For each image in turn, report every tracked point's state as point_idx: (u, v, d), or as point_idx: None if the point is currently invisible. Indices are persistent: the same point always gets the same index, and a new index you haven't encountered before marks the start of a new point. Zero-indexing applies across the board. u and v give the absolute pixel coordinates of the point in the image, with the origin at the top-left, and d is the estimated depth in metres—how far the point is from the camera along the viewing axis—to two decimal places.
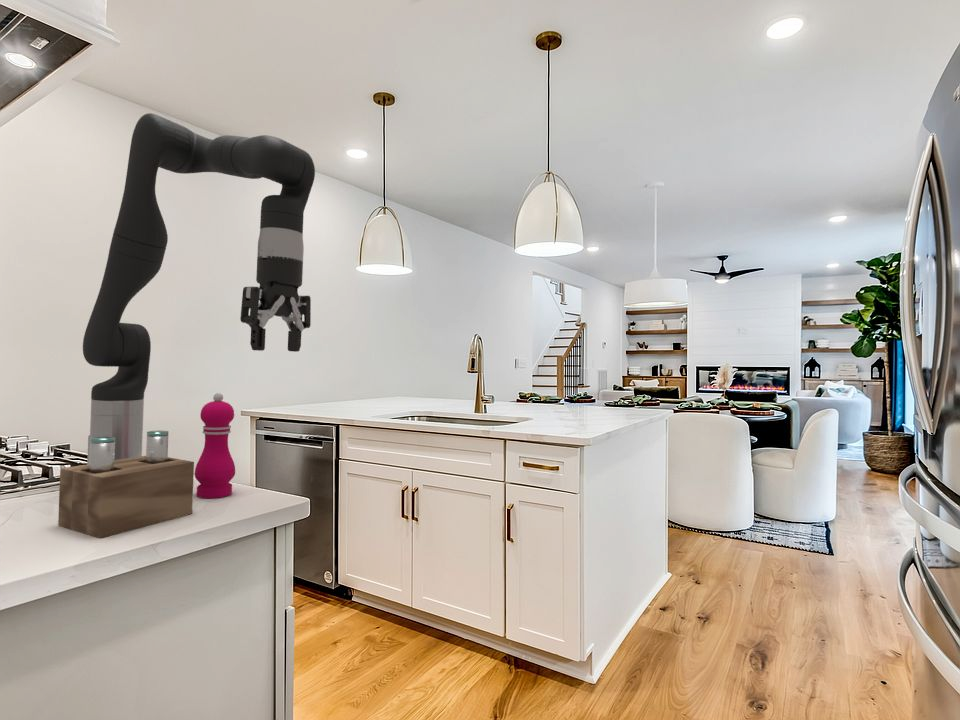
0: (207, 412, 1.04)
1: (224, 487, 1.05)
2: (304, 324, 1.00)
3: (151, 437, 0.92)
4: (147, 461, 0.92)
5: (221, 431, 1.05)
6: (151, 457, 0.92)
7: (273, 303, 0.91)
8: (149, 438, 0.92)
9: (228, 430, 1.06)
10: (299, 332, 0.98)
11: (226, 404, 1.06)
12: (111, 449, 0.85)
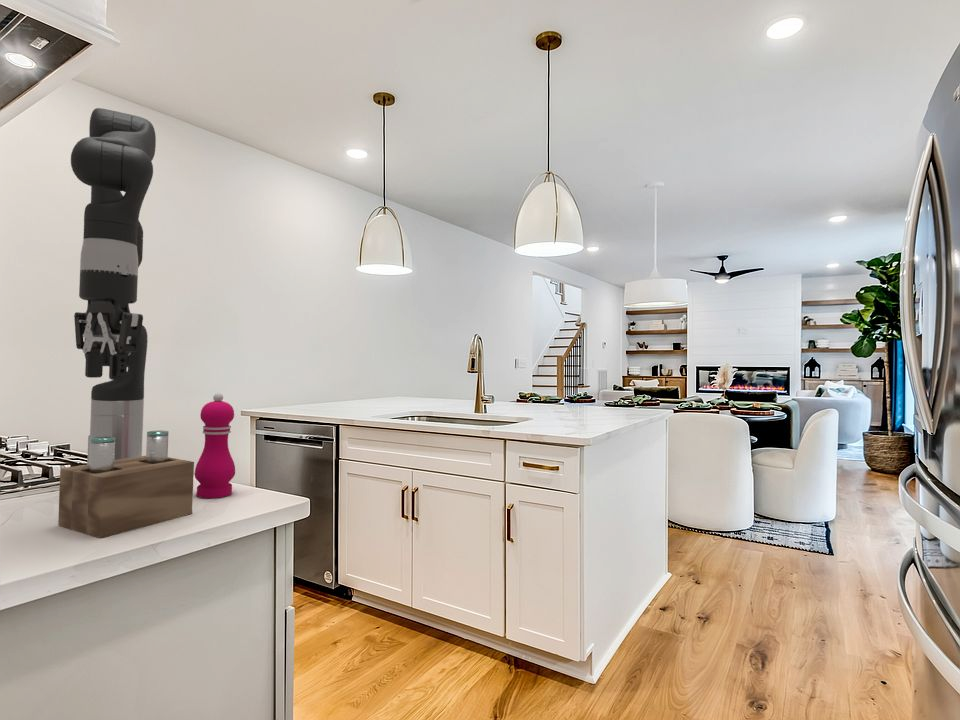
0: (207, 412, 1.04)
1: (224, 487, 1.05)
2: None
3: (151, 437, 0.92)
4: (147, 461, 0.92)
5: (221, 431, 1.05)
6: (151, 457, 0.92)
7: None
8: (149, 438, 0.92)
9: (228, 430, 1.06)
10: None
11: (226, 404, 1.06)
12: (111, 449, 0.85)
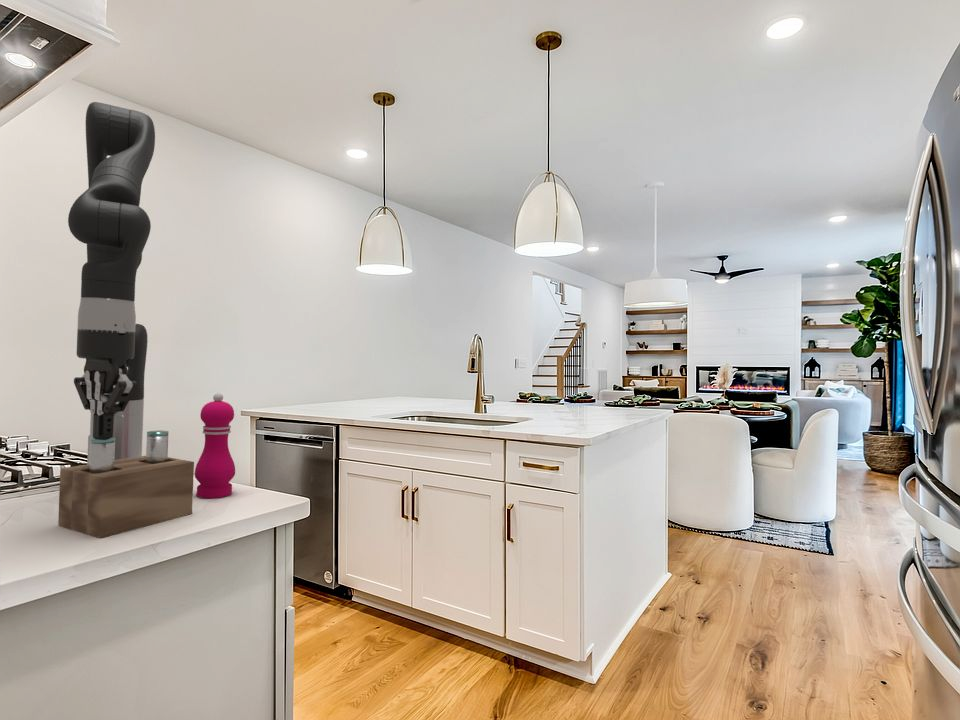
0: (207, 412, 1.04)
1: (224, 487, 1.05)
2: None
3: (151, 437, 0.92)
4: (147, 461, 0.92)
5: (221, 431, 1.05)
6: (151, 457, 0.92)
7: None
8: (149, 438, 0.92)
9: (228, 430, 1.06)
10: None
11: (226, 404, 1.06)
12: (111, 449, 0.85)
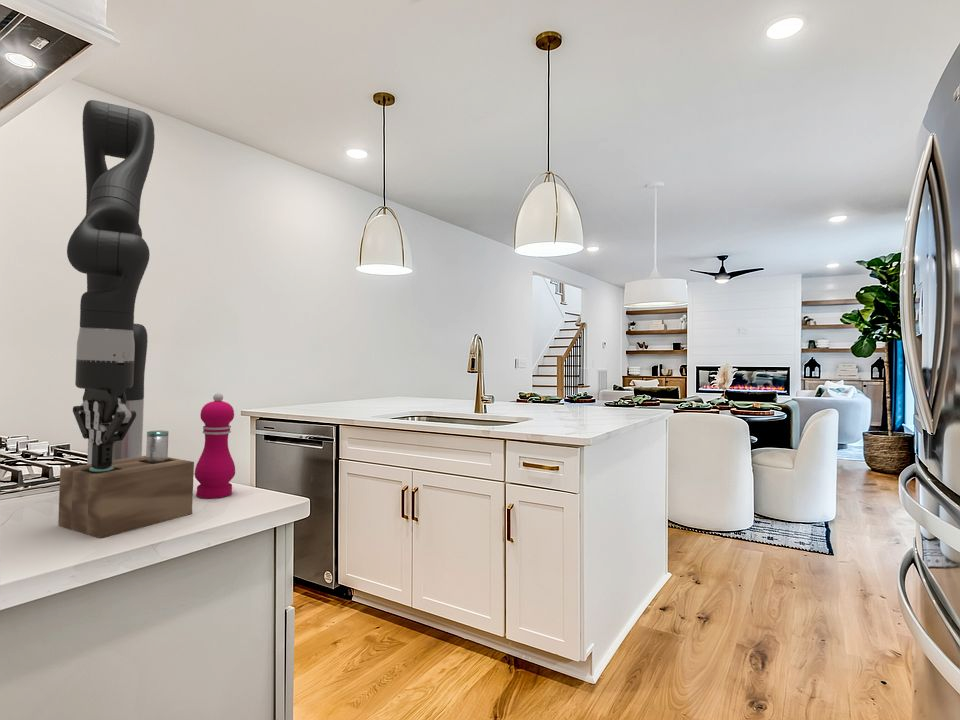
0: (207, 412, 1.04)
1: (224, 487, 1.05)
2: None
3: (151, 437, 0.92)
4: (147, 461, 0.92)
5: (221, 431, 1.05)
6: (151, 457, 0.92)
7: None
8: (149, 438, 0.92)
9: (228, 430, 1.06)
10: None
11: (226, 404, 1.06)
12: None
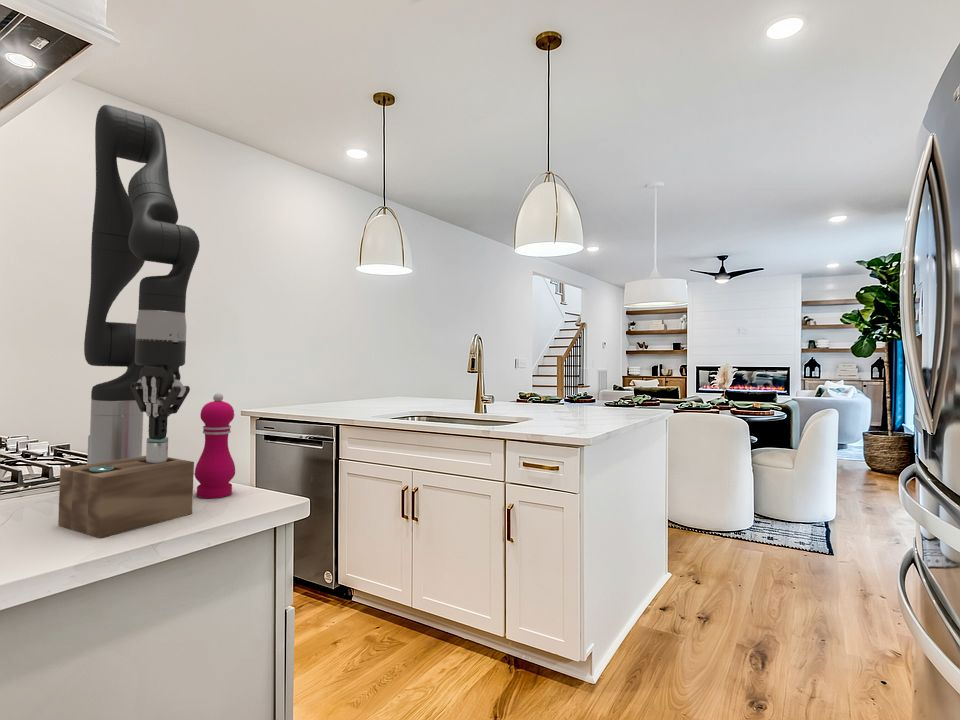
0: (207, 412, 1.04)
1: (224, 487, 1.05)
2: None
3: (150, 444, 0.92)
4: None
5: (221, 431, 1.05)
6: None
7: None
8: (149, 444, 0.92)
9: (228, 430, 1.06)
10: None
11: (226, 404, 1.06)
12: None
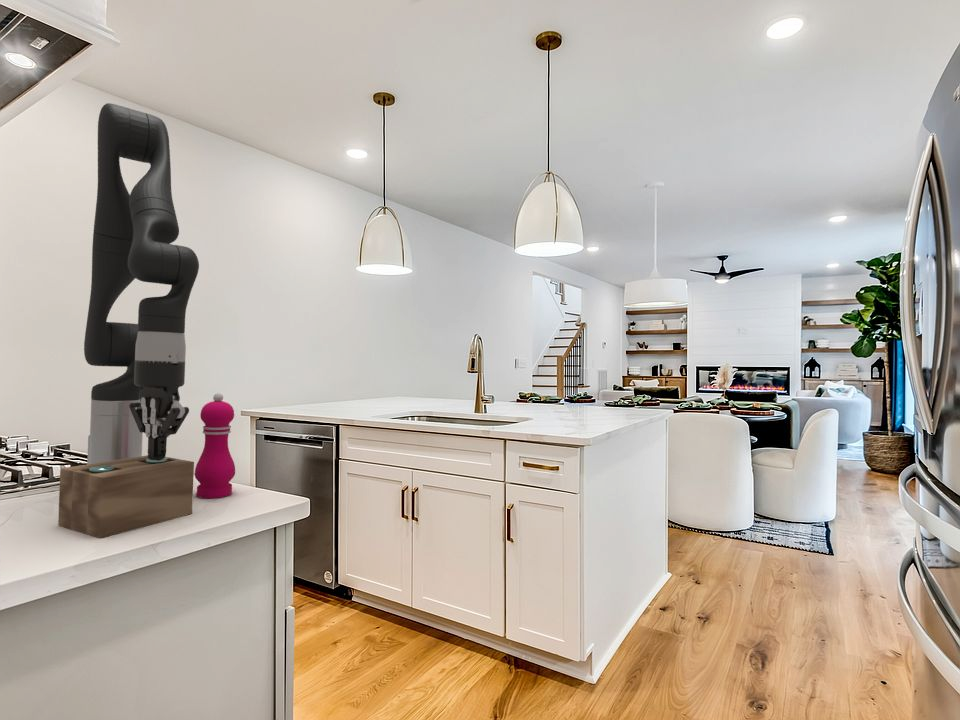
0: (207, 412, 1.04)
1: (224, 487, 1.05)
2: None
3: None
4: None
5: (221, 431, 1.05)
6: None
7: None
8: None
9: (228, 430, 1.06)
10: None
11: (226, 404, 1.06)
12: None
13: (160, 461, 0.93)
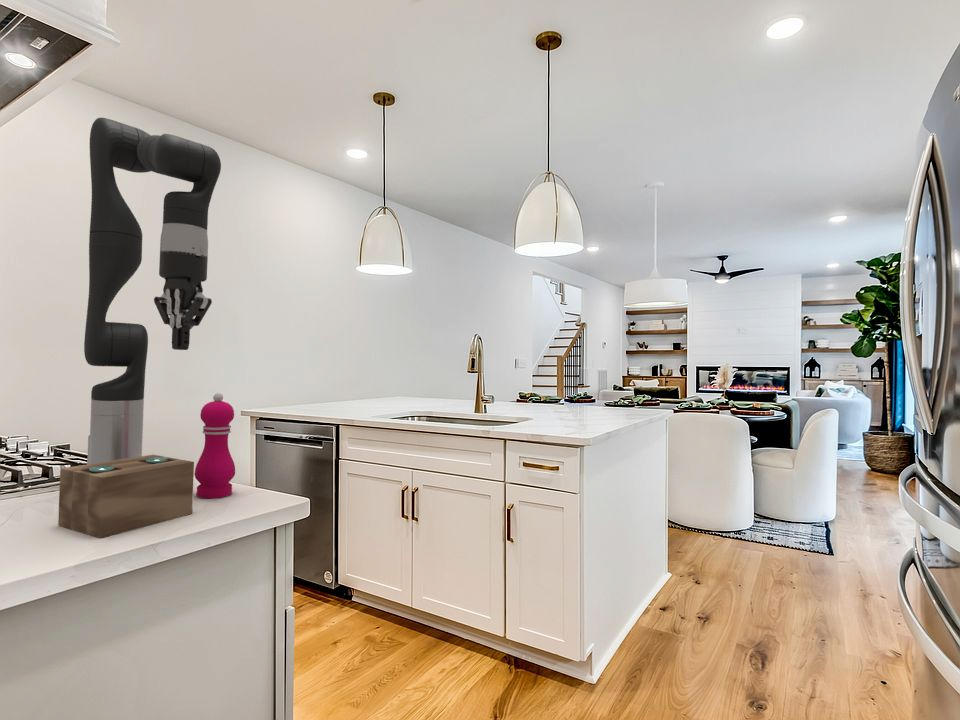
0: (207, 412, 1.04)
1: (224, 487, 1.05)
2: None
3: None
4: None
5: (221, 431, 1.05)
6: None
7: None
8: None
9: (228, 430, 1.06)
10: None
11: (226, 404, 1.06)
12: None
13: (160, 461, 0.93)
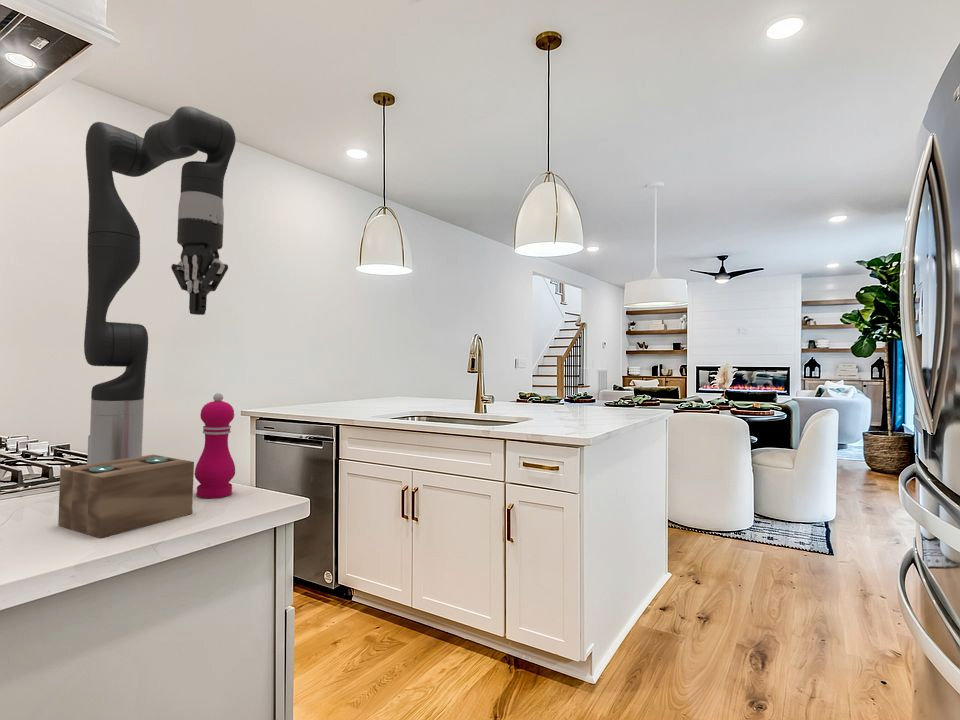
0: (207, 412, 1.04)
1: (224, 487, 1.05)
2: None
3: None
4: None
5: (221, 431, 1.05)
6: None
7: None
8: None
9: (228, 430, 1.06)
10: None
11: (226, 404, 1.06)
12: None
13: (160, 461, 0.93)
